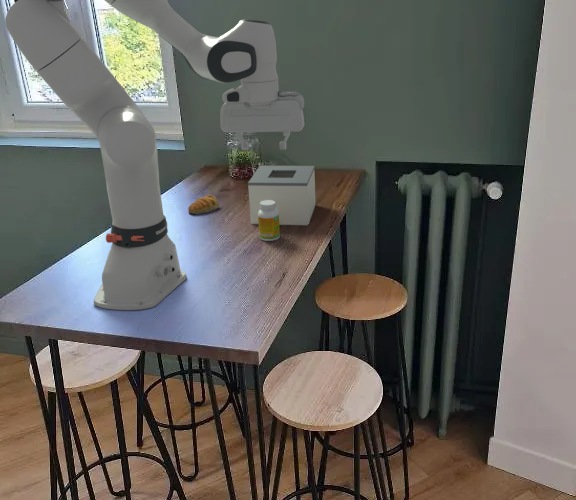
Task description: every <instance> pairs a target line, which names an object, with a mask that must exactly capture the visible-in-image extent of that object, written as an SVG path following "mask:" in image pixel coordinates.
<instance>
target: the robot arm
mask: <svg viewBox="0 0 576 500" xmlns="http://www.w3.org/2000/svg"><path fill="white" fill-rule="evenodd" d="M64 1H65V0H13V2H14V3H13V4H12V5H11V6H10V7H9V9H8V11H7V12H6V16H5V28H6V30H7V31H8V34H9V35H10V37H11V38H12V40H13V42H14V43H15V45H16V47H18V49H19V51H20V52H21V54H22V55H23V57H24V58H25V59H26V60H27V61H28V63H29V64H30V66H31V67H32V68H33V69H34V70H35V72H36V73H37V74H38V75H39V76H40V77H41V78H42V79H43V81H44V82H45V83H46V84H47V85H48V87H49V88H50V90H52V91H53V93H55V95H56V96H57V97H58V98H59V99H60V101H62V103H63V104H64V105H65V106H66V107H67V108H68V109H70V110H69V111H71V112H72V113H73V114H75V116H76V117H77V118H78V119H79V120H80V121H81V122H82V123H83V124H84V125H85V127H86V128H87V129H89V130H90V132H91V133H92V134H93V135H94V136H95V137H96V139H97V141H98V142H99V147H100V153H101V159H102V165H103V171H104V177H105V183H106V191H107V195H108V196H107V198H108V203H109V208H110V214H111V219H112V222H111V228H110V233H107V234H106V235H105V242H106V243H108V244H110V243H111V247H110V250H109V252H108V255H107V258H106V260H105V264H104V267H103V269H102V272H101V273H102V274H101V282H102V284H101V285H100V287H99V289H98V291H97V293H96V295H95V296H94V298H93V305H94V306H97V307H98V308H102V309H106V310H107V309H108V310H115V311H138V310H145V309H151V308H154V307H155V306H157V305H158V304H159V303H161V301H162V300H164V299H165V298H166V297H168V295H169V294H171V293H172V292H173V291H174V290H175V289H176V288H177V287H178V286H180V285H181V284H182V283H183V282H184V281H185V280H186V279H187V278H188V276H187V275H188V274H187V273H186V272H185V271H184V270H182V269H181V265H180V262H179V256H178V252H177V248H176V244H175V243H174V241H172V240H171V238H170V237H169V235H168V233H169V230H168V221H167V217H166V216H165V215H164V210H163V201H162V195H161V187H160V172H159V171H160V170H159V169H160V168H159V155H158V146H157V145H158V143H157V137H156V136H157V135H156V130H155V128H154V127H153V125H152V124H151V123H150V120H149V119H148V118H147V117H146V116H145V114H144V112H143V111H142V109H141V108H140V107H139V105H137V103H136V102H135V101H134V100H133V98H132V97H131V96H130V95H129V93H128V92H127V91H126V90H125V89H124V87H123V86H122V85H121V83H120V82H119V81H118V80H117V79H116V77H115V76H114V74H112V72H111V71H110V70H109V69H108V67H107V66H106V65H105V63H104V62H103V61H102V59H100V57H99V56H98V54H97V53H96V52H95V51H94V49H93V48H92V47H91V45H90V44H88V42H87V41H86V39H85V38H84V37H83V36H82V34H81V33H80V32H79V31H78V30H77V28H76V27H75V26H74V25H73V24H72V23H71V20H70V19H69V17H68V15H67V12H66V10H65V6H64ZM104 1H105V2H106V3H108V4H109V5H110V6H111V7H112V8H114V9H115V10H116V11H118V12H119V13H121V14H122V15H124V16H126V17H127V18H129V19H131V20H133V21H135V22H137V23H138V24H140V25H142V26H144V27H146V28H149V29H150V30H152V31H153V32H155V33H156V34H157V35H159V36H160V37H161V38H162V39H163V40H164V41H166V42H167V43H169V44H170V46H172V47H173V48H174V49H176V50H177V51H178V52H179V53H180V55H181V56H182V57H183V59H184V61H185V63H186V65H187V66H188V68H189V69H190V71H191V72H192V73H193V74H194V75H195V76H196V77H198V78H200V79H203V80H211V81H214V82H218V83H221V84H231V83H233V82H237V81H239V80H240V85H238V86H235V87H233V88H230V89H228V90H226V91H225V92H223V94H222V96H221V97H222V98H221V99H222V102H223V104H222V105H221V107H220V113H219V116H220V117H219V118H220V119H219V120H220V121H219V122H220V123H219V124H220V129H221V130H222V131H223V133H235V137H236V138H237V140H238V141H239V143H240V144H241V151H248V150H249V149H250V145H249V144H250V143H249V141H246V140H245V138H244V137H243V135H244V133H277V132H278V133H282V134H283V137H284V139H283V140H280V141H279V142H278V146H279V150H281V151H285V150H287V141H288V139H289V137H290V135H291V133H293V132H298V133H299V132H301V131H302V130H303V129H304V127H305V117H304V111H303V110H304V107H305V98H304V95H303V94H301V93H300V92H298V91H294V90H293V91H280V88H279V75H278V72H277V62H278V54H277V51H278V50H277V43H276V36H275V31H274V28H273V26H272V24H271V23H269V22H267V21H264V20H258V19H251V18H250V19H246V18H245V19H240V20H239V21H238V23H237V24H236V25H235V26H234V27H233V28H231V29H230V30H228V31H227V32H226V33H224V34H222V35H220V36H214V35H210V34H207V33H202V32H200V31H198V30H197V29H195V27H194V26H192V25H191V24H190V23H189V22H188V21H186V20H185V19H184V18H183V17H182V16H181V15H180V14H178V13H177V12H176V11H175V9H173V8H172V6H171V5H170V4H169V1H168V0H104Z"/></svg>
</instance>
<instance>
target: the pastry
mask: <svg viewBox="0 0 576 500" xmlns="http://www.w3.org/2000/svg"><path fill="white" fill-rule="evenodd" d="M219 207H220V202H219V201H218V199H217V198H216V196H215V195H212V194H209V195H207V194H206V195H205V196H203V197H199V198H197V199H196V200H195V201H193V202H192V203H191V204H190V205H189V206H188V208H187V209H188V214H189V213H190V214H193V215H200V214H206V213H210V212H212V211H215V210H218V209H219Z"/></svg>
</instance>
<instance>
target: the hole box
mask: <svg viewBox="0 0 576 500" xmlns="http://www.w3.org/2000/svg"><path fill="white" fill-rule="evenodd" d="M315 177H316V176H315V165H259V167H258V168H257V170H256V171H255V172H254V173H253V175H252V177H251V178H250V179H249V180H248V182H247V186H248V200H249V201H248V202H249V211H250V212H249V215H250V224H251V225H259V223H258V212H259V210H261V209H260V202H261V201H264V200H273V201H275V204H276V208H275V209H277V210H278V212H279V226H280V225H281V226H286V225H287V226H309V225H308V224H310V222H311V218H312V216H313V214H314V211H315V207H316V181H315V179H316V178H315Z"/></svg>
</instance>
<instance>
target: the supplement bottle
mask: <svg viewBox="0 0 576 500" xmlns="http://www.w3.org/2000/svg"><path fill="white" fill-rule="evenodd" d="M275 208H276V204H275V201H273V200H264V201H261V202H260V209H261V210H259V212H258V223H259V224H258V234H259V235H258V236H259V240H262V241H264V242H272V241H277V240H278V239H280V237H281V232H280V231H281V228H280V225H279V212H278V210H277V209H275Z"/></svg>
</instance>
